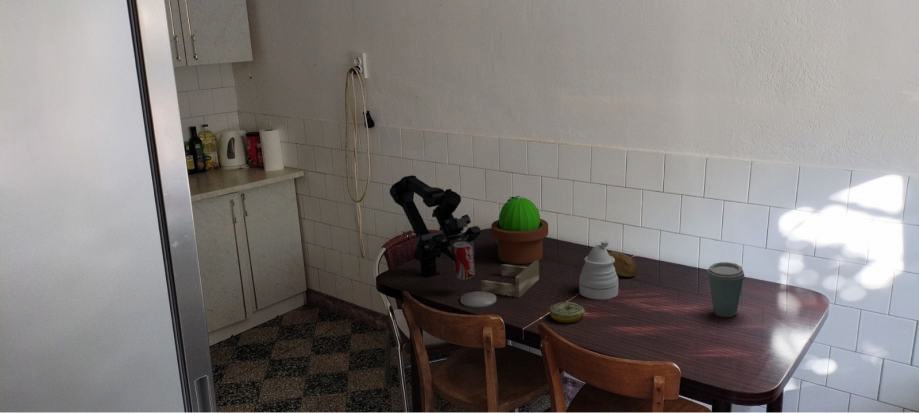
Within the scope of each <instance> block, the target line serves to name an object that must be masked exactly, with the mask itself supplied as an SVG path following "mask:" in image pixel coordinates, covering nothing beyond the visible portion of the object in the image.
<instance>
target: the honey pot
mask: <svg viewBox="0 0 919 413" xmlns="http://www.w3.org/2000/svg"><path fill="white" fill-rule="evenodd" d="M608 246H609V241H608V240H601V241H600V244H596V245H595V246H593V247H592V248H591V249H590V252H589V253H588V255H587V256H585V257H584V265H583V266H582V270H581V274H580V275H579V278H578V279H579V286H578V287H579V294H580V295H581V296H583V297H585V298H586V299H587V298H588V299H591V300H592V299H593V300H609V299H612V298H615V297H617V296H618V294H619V275H616V271H615V267H614V266H613V263H614V262H615V259H614V258H613V257H612V256H610V255H609V254H608V253H609V252H608V251H607V249H606V248H607V247H608Z"/></svg>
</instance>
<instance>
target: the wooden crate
mask: <svg viewBox="0 0 919 413" xmlns="http://www.w3.org/2000/svg"><path fill="white" fill-rule="evenodd" d="M539 266H540V260H539V261H538V260H535V261H534V262H533V263H530V264H529V265H528V266H521V265H516V264H508V263H505V264H504V263H502V264H501V265H500V270H501V272H500V274H501V276H502V277H505V276H506V277H512V278H515V284H513V283H507V282H501V281H500V282H499V281H493V280H492V281H491V280H484V279H481V280H480V291H484V292H490V293H492V294H494V295H498V294H500V296H505V295H507V297H512V296H513V298H520V297H522V296H523V295H524V294H525V293H526V292H527V291H528V290H529V289H530V288H531V287H533V285H534V284H535V283H537V281H539V279H540V267H539Z"/></svg>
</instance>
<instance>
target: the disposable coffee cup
mask: <svg viewBox="0 0 919 413" xmlns="http://www.w3.org/2000/svg"><path fill="white" fill-rule="evenodd" d="M706 273H707V276H708V281H709V288H710V294H711V303H712V310H713V312H714V315H716V316H718V317H723V318H729V317H730V318H732V317H734V316H735V315H736V313H738V307H739V301H740V297H741V290H742V287H743V282H744V277H745V272H744V269H743V267H742V266H741V265H739V264H737V263H734V262H729V261H727V262H726V261H724V262H723V261H720V262H715V263H713V264H711V265H710V266H709V268H708V269H707V271H706Z"/></svg>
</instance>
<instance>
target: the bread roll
mask: <svg viewBox="0 0 919 413" xmlns="http://www.w3.org/2000/svg"><path fill="white" fill-rule="evenodd" d="M608 254H609V255H610V256H612V257H613V258H614V259H615V262H614V263H613V266H614V267H615V271H616V275H617V276H620V277H626V278H631V277H634V276H636V275H637V273H638V267H637V264H636V262H635V260H634V259H633V258H632V257H630V256H629V255H628V254H626V253H623V252H620V251H619V252H618V251H612V252H608Z"/></svg>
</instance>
